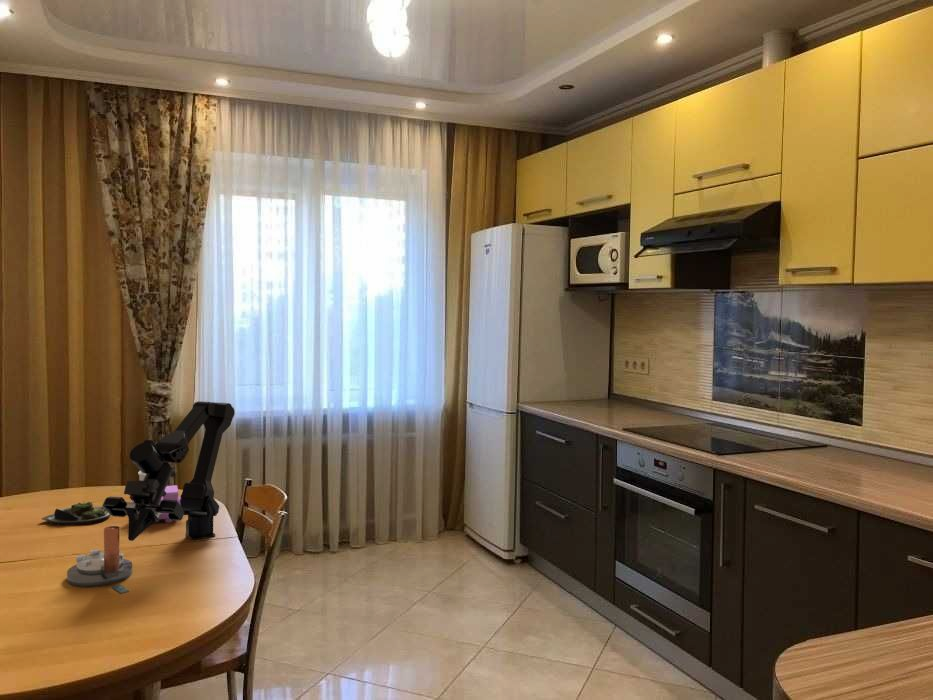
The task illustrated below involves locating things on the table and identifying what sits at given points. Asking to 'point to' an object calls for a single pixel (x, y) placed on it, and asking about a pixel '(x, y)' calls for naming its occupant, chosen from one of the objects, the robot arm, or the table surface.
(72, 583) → the flange base
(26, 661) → the table surface
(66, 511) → the salad plate
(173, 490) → the teapot
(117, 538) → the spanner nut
